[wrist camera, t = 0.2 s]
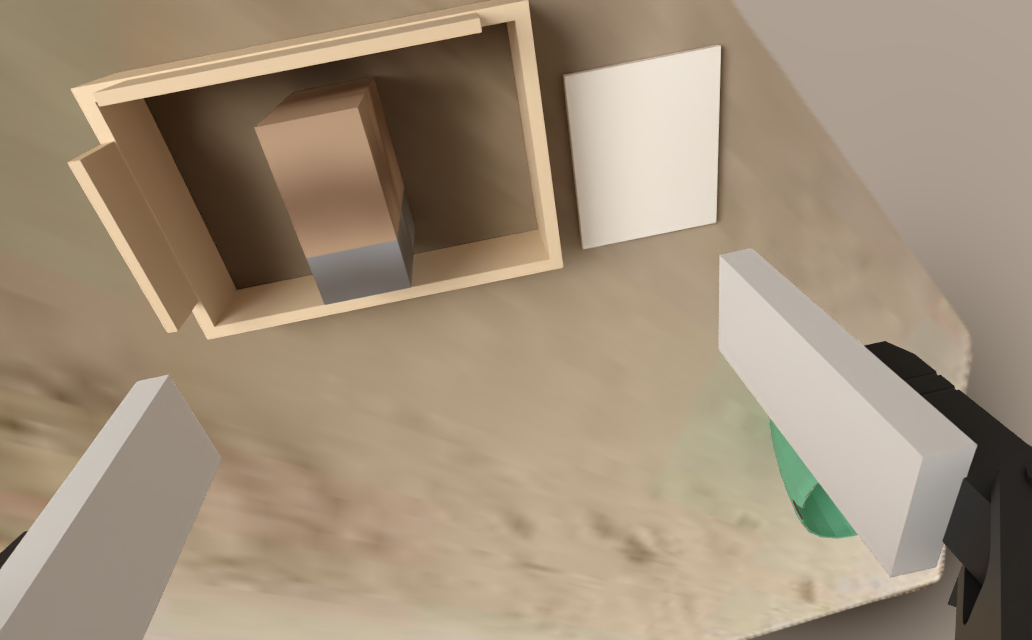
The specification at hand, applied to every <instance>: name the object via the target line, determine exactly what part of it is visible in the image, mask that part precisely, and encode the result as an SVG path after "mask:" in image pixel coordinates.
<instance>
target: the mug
mask: <svg viewBox="0 0 1032 640" xmlns="http://www.w3.org/2000/svg"><path fill="white" fill-rule="evenodd" d="M770 428H771V434H772V440H773V446H774V450H775V454H776V458H777V462H778V466H779V470H780V473H781V476H782V479H783V482H784V484H785V487H786V490H787V493H788V495H789V498H790V500H791V502H792V505H793V507H794V510H795V513H796V515H797V517H798V518H799V520H800V521H801V523H802V524H803V525H804V527H805V528H806V529H807V530H808V531H809V532H810V533H812V534H815V535H817V536H820V537H825V538H844V537H851V536H856V535H858V534H857V533H856V532H855V530H854V529H853V528H852V526H851V525H850V524H849V522H848V521H847V520H846V518H845V517H844V516H843V514H842V513H841V512H840V510H839V509H838V508H837V506H836V505H835V504H834V502H833V501H832V500H831V498H830V497H829V496H828V494H827V493H826V492H825V490H824V489H823V488H822V486H821V485H820V484H819V482H818V481H817V480H816V478H815V477H814V476H813V474H812V473H811V472H810V470H809V469H808V468H807V466H806V465H805V464H804V462H803V461H802V460H801V458H800V457H799V456H798V454H797V453H796V452H795V450H794V449H793V448H792V446H791V445H790V444H789V442H788V441H787V440H786V438H785V437H784V436H783V434H782V433H781V432H780V430H779V429H778V428H777V426H776V425H775V424H774V422H773V421H772V420H770Z"/></svg>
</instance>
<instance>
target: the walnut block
mask: <svg viewBox="0 0 1032 640" xmlns="http://www.w3.org/2000/svg"><path fill="white" fill-rule="evenodd" d="M254 129H255V131H256V134H257V136H258V139H259V141H260V144H261V146H262V149H263V151H264V154H265V156H266V159H267V161H268V164H269V166H270V169H271V171H272V174H273V176H274V179H275V181H276V184H277V186H278V189H279V191H280V194H281V196H282V199H283V201H284V204H285V206H286V209H287V211H288V214H289V217H290V219H291V222H292V224H293V227H294V229H295V232H296V234H297V237H298V239H299V242H300V244H301V247H302V249H303V252H304V254H305V257H306V259H307V262H308V264H309V267H310V269H311V272H312V274H313V277H314V279H315V282H316V284H317V287H318V289H319V292H320V294H321V297H322V299H323V302H324V304H325V305H328V304H333V303H338V302H343V301H348V300H353V299H357V298H362V297H367V296H372V295H377V294H382V293H387V292H392V291H397V290H402V289H407V288H411V285H412V270H413V255H414V240H415V224H414V220H413V217H412V213H411V209H410V206H409V202H408V198H407V195H406V191H405V188H404V184H403V180H402V177H401V173H400V169H399V166H398V162H397V159H396V155H395V151H394V148H393V144H392V140H391V137H390V133H389V130H388V126H387V122H386V119H385V115H384V111H383V108H382V104H381V101H380V97H379V93H378V90H377V86H376V82H375V79H374V77H368V78H363V79H358V80H353V81H348V82H343V83H338V84H333V85H328V86H322V87H317V88H312V89H307V90H302V91H297V92H293V93H292V94H290V95H289V96H288V97H287V98H286V99H285V100H284V101H283V102H282V103H281V104H279V105H278V106H277V107H276V108H275V109H274V110H273V111H272V112H271V113H270V114H269V115H267V116H266V117H265V118H264V119H263V120H262V121H261V122H260V123H259V124H258V125H257V126H255V127H254Z"/></svg>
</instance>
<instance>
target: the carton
mask: <svg viewBox="0 0 1032 640" xmlns="http://www.w3.org/2000/svg"><path fill="white" fill-rule="evenodd" d="M504 22H507V29H508V35H509V42H510V48H511V55H512V61H513V68H514V75H515V81H516V88H517V94H518V101H519V107H520V114H521V121H522V127H523V134H524V140H525V147H526V153H527V160H528V166H529V173H530V180H531V186H532V193H533V199H534V206H535V212H536V219H537V225H538V229H537V230H532V231H527V232H522V233H517V234H512V235H507V236H502V237H497V238H492V239H487V240H482V241H477V242H473V243H468V244H463V245H458V246H453V247H448V248H443V249H438V250H433V251H428V252H423V253H418V254H414V255H413V270H412V285H411V288H407V289H402V290H397V291H392V292H387V293H382V294H377V295H372V296H367V297H362V298H357V299H353V300H348V301H343V302H338V303H333V304H328V305H325V304H324V302H323V299H322V297H321V294H320V292H319V289H318V287H317V284H316V282H315V279H314V277H313V275H308V276H303V277H299V278H294V279H289V280H284V281H279V282H274V283H269V284H264V285H259V286H254V287H249V288H244V289H239V290H237V289H236V287H235V285H234V283H233V281H232V279H231V277H230V275H229V273H228V271H227V269H226V267H225V265H224V262H223V260H222V258H221V256H220V254H219V252H218V250H217V248H216V246H215V244H214V242H213V240H212V238H211V236H210V234H209V232H208V230H207V228H206V225H205V223H204V221H203V219H202V217H201V215H200V213H199V211H198V209H197V207H196V205H195V203H194V201H193V199H192V197H191V195H190V193H189V190H188V188H187V186H186V184H185V182H184V180H183V178H182V176H181V174H180V172H179V170H178V168H177V166H176V164H175V162H174V160H173V158H172V156H171V153H170V151H169V149H168V147H167V145H166V143H165V141H164V139H163V137H162V135H161V133H160V131H159V129H158V127H157V125H156V123H155V121H154V118H153V116H152V114H151V112H150V110H149V108H148V106H147V104H146V102H145V100H144V98H147V97H152V96H157V95H162V94H167V93H172V92H178V91H183V90H188V89H193V88H198V87H203V86H208V85H213V84H219V83H224V82H229V81H234V80H239V79H244V78H249V77H255V76H260V75H265V74H270V73H275V72H280V71H285V70H291V69H296V68H301V67H306V66H311V65H316V64H321V63H326V62H332V61H337V60H342V59H347V58H352V57H357V56H362V55H368V54H373V53H378V52H383V51H388V50H393V49H398V48H404V47H409V46H414V45H419V44H424V43H429V42H434V41H439V40H445V39H450V38H455V37H460V36H465V35H470V34H475V33H481V32H482V29H481V27H483V26H488V25H494V24H499V23H504ZM71 90H72V92H73V94H74V96H75V98H76V100H77V101H78V103H79V105H80V107H81V109H82V111H83V112H84V114H85V116H86V118H87V120H88V122H89V123H90V125H91V127H92V129H93V131H94V133H95V134H96V136H97V138H98V140H99V142H100V144H101V145H99V146H97V147H95V148H93V149H91V150H89V151H88V152H86V153H84V154H82V155H80V156H78V157H77V158H75V159H73V160H71V161H69V162H67V163H68V165H69V166H70V168H71V170H72V171H73V173H74V175H75V177H76V178H77V180H78V182H79V183H80V185H81V187H82V188H83V190H84V192H85V194H86V195H87V197H88V199H89V200H90V202H91V204H92V205H93V207H94V209H95V211H96V212H97V214H98V216H99V217H100V219H101V221H102V222H103V224H104V226H105V228H106V229H107V231H108V233H109V234H110V236H111V238H112V239H113V241H114V243H115V245H116V246H117V248H118V250H119V251H120V253H121V255H122V256H123V258H124V260H125V262H126V263H127V265H128V267H129V268H130V270H131V272H132V273H133V275H134V277H135V279H136V280H137V282H138V284H139V285H140V287H141V289H142V290H143V292H144V294H145V296H146V297H147V299H148V301H149V302H150V304H151V306H152V307H153V309H154V311H155V313H156V314H157V316H158V318H159V319H160V321H161V323H162V324H163V326H164V328H165V330H166V331H167V333H170V332H175V331H178V330H179V329H180V327H181V326H182V324H183V323H184V322H185V320H186V319H187V317H188V316H189V314H190V313H191V311H192V312H193V314H194V315H195V317H196V319H197V321H198V323H199V325H200V326H201V328H202V330H203V332H204V334H205V336H206V337H207V339H213V338H218V337H223V336H228V335H233V334H238V333H243V332H248V331H253V330H258V329H263V328H268V327H272V326H277V325H282V324H287V323H292V322H297V321H302V320H307V319H312V318H317V317H322V316H327V315H332V314H337V313H342V312H347V311H351V310H356V309H361V308H366V307H371V306H376V305H381V304H386V303H391V302H396V301H401V300H406V299H411V298H416V297H421V296H426V295H431V294H435V293H440V292H445V291H450V290H455V289H460V288H465V287H470V286H475V285H480V284H485V283H490V282H495V281H500V280H505V279H510V278H514V277H519V276H524V275H529V274H534V273H539V272H544V271H549V270H554V269H559V268H563V261H562V253H561V246H560V238H559V230H558V223H557V215H556V208H555V200H554V192H553V185H552V177H551V170H550V162H549V155H548V147H547V139H546V132H545V124H544V117H543V109H542V102H541V94H540V86H539V79H538V71H537V64H536V56H535V48H534V41H533V33H532V26H531V18H530V11H529V3H528V0H491V1H485V2H480V3H475V4H470V5H465V6H460V7H454V8H449V9H444V10H439V11H434V12H429V13H423V14H418V15H413V16H408V17H403V18H398V19H392V20H387V21H382V22H377V23H372V24H367V25H361V26H356V27H351V28H346V29H341V30H336V31H331V32H325V33H320V34H315V35H310V36H305V37H300V38H294V39H289V40H284V41H279V42H274V43H269V44H263V45H258V46H253V47H248V48H243V49H238V50H232V51H227V52H222V53H217V54H212V55H207V56H202V57H196V58H191V59H186V60H181V61H176V62H171V63H165V64H160V65H155V66H150V67H145V68H140V69H134V70H129V71H124V72H119V73H115V74H112V75H109V76H106V77H103V78H100V79H97V80H95V81H92V82H89V83H86V84H83V85H80V86H77V87H74V88H71Z"/></svg>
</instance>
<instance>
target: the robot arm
mask: <svg viewBox="0 0 1032 640" xmlns="http://www.w3.org/2000/svg"><path fill="white" fill-rule="evenodd" d="M719 351H720V352H721V353H722V355H723V356H724V357H725V359H726V360H727V361H728V363H729V364H730V365H731V367H732V368H733V369H734V371H735V372H736V373H737V375H738V376H739V377H740V379H741V380H742V381H743V383H744V384H745V385H746V387H747V388H748V389H749V391H750V392H751V393H752V395H753V396H754V397H755V399H756V400H757V401H758V402H759V404H760V405H761V406H762V408H763V409H764V410H765V412H766V413H767V414H768V416H769V417H770V418H771V420H772V421H773V422H774V424H775V425H776V426H777V428H778V429H779V430H780V432H781V433H782V434H783V436H784V437H785V438H786V440H787V441H788V442H789V444H790V445H791V446H792V448H793V449H794V450H795V452H796V453H797V454H798V456H799V457H800V458H801V460H802V461H803V462H804V464H805V465H806V466H807V468H808V469H809V470H810V472H811V473H812V474H813V476H814V477H815V478H816V480H817V481H818V482H819V484H820V485H821V486H822V488H823V489H824V490H825V492H826V493H827V494H828V496H829V497H830V498H831V500H832V501H833V502H834V504H835V505H836V506H837V508H838V509H839V510H840V512H841V513H842V514H843V516H844V517H845V518H846V520H847V521H848V522H849V524H850V525H851V526H852V528H853V529H854V530H855V532H856V533H857V534H858V536H859V537H860V538H861V540H862V541H863V542H864V544H865V545H866V546H867V548H868V549H869V550H870V552H871V553H872V554H873V555H874V557H875V558H876V559H877V561H878V562H879V563H880V565H881V566H882V567H883V569H884V570H885V571H886V573H887V574H888V575H889V577H895V576H899V575H903V574H908V573H912V572H917V571H921V570H926V569H930V568H935V567H936V566H937V563H938V560H939V557H940V554H941V551H942V548H943V545H944V544H945V545H946V546H947V547H948V548H949V549H950V550H951V552H952V553H953V554H954V555H955V556H956V557H957V558H958V559H959V561H960V562H961V563H962V567H961V570H960V572H959V575H958V578H957V581H956V583H955V586H954V588H953V591H952V594H951V596H950V599H949V602H948V604H949V605H951V606H954V607H956V606H957V610H956V612H957V613H956V632H955V640H1032V447H1031V446H1029V445H1028V444H1027V443H1025V442H1024V441H1022V439H1020V438H1019V437H1017V435H1015V434H1014V433H1013V432H1011V431H1010V430H1009V429H1008V428H1006V427H1005V426H1004V425H1003V424H1001V423H1000V422H999V421H998V420H996V419H995V418H994V417H992V416H991V415H990V414H989V413H988V412H986V411H985V410H984V409H983V408H981V407H980V406H979V405H977V404H976V403H975V402H974V401H973V400H971V399H970V398H969V397H968V396H966V395H965V394H964V393H963V392H961V391H960V390H955V388H954V385H953V384H951V383H950V382H949V381H948V380H946V379H945V378H944V377H943V376H941V375H937V374H936V371H935V370H934V369H932V368H931V367H930V366H929V365H927V364H926V363H925V362H924V361H922V360H921V359H920V358H919V357H917V356H916V355H915V354H913V353H911V352H909V351H906V350H904V349H902V348H899V347H897V346H895V345H893V344H890V343H888V342H886V341H883V342H879V343H874V344H870V345H865V346H863V345H862V344H861V343H860V342H859V341H858V340H857V339H855V338H854V337H853V336H852V335H851V334H850V333H849V332H847V331H846V330H845V329H844V328H843V327H842V326H840V325H839V324H838V323H837V322H836V321H835V320H834V319H832V318H831V317H830V316H829V315H828V314H827V313H826V312H824V311H823V310H822V309H821V308H820V307H819V306H818V305H816V304H815V303H814V302H813V301H812V300H811V299H810V298H808V297H807V296H806V295H805V294H804V293H803V292H801V291H800V290H799V289H798V288H797V287H796V286H795V285H793V284H792V283H791V282H790V281H789V280H788V279H787V278H785V277H784V276H783V275H782V274H781V273H780V272H779V271H777V270H776V269H775V268H774V267H773V266H772V265H771V264H769V263H768V262H767V261H766V260H765V259H764V258H763V257H761V256H760V255H759V254H758V253H757V252H756V251H754V250H753V249H752V248H749V249H744V250H739V251H735V252H730V253H726V254H721V255H720V268H719ZM221 459H222V458H221V456H220V455H219V453H218V452H217V450H216V448H215V447H214V445H213V444H212V442H211V440H210V439H209V437H208V436H207V434H206V432H205V431H204V429H203V428H202V426H201V424H200V423H199V421H198V420H197V418H196V416H195V415H194V413H193V412H192V410H191V409H190V407H189V405H188V404H187V402H186V401H185V399H184V397H183V396H182V394H181V393H180V391H179V389H178V388H177V386H176V385H175V383H174V381H173V380H172V378H171V377H170V375H165V376H160V377H155V378H151V379H146V380H142V381H137V382H136V383H135V385H134V386H133V387H132V389H131V390H130V391H129V393H128V394H127V396H126V397H125V398H124V400H123V401H122V403H121V404H120V405H119V407H118V408H117V409H116V411H115V412H114V414H113V415H112V416H111V418H110V419H109V420H108V422H107V423H106V425H105V426H104V427H103V429H102V430H101V431H100V433H99V434H98V436H97V437H96V438H95V440H94V441H93V442H92V444H91V445H90V447H89V448H88V449H87V451H86V452H85V453H84V455H83V456H82V458H81V459H80V460H79V462H78V463H77V464H76V466H75V467H74V469H73V470H72V471H71V473H70V474H69V475H68V477H67V478H66V480H65V481H64V482H63V484H62V485H61V486H60V488H59V489H58V491H57V492H56V493H55V495H54V496H53V497H52V499H51V500H50V502H49V503H48V504H47V506H46V507H45V508H44V510H43V511H42V513H41V514H40V515H39V517H38V518H37V520H36V521H35V522H34V524H33V525H32V526H31V528H30V529H29V531H25V532H23V533H22V534H21V535H20V536H19V537H18V538H17V539H16V540H14V541H13V542H12V543H11V544H10V545H9V546H8V547H7V548H6V549H5V550H4V551H2V552H1V553H0V640H143V638H144V635H145V633H146V631H147V628H148V626H149V624H150V622H151V619H152V617H153V615H154V612H155V610H156V608H157V606H158V603H159V601H160V599H161V596H162V594H163V592H164V590H165V587H166V585H167V583H168V580H169V578H170V576H171V574H172V571H173V569H174V567H175V564H176V562H177V560H178V558H179V555H180V553H181V551H182V548H183V546H184V544H185V542H186V539H187V537H188V535H189V532H190V530H191V528H192V525H193V523H194V521H195V519H196V516H197V514H198V512H199V509H200V507H201V505H202V503H203V500H204V498H205V496H206V493H207V491H208V489H209V487H210V484H211V482H212V480H213V477H214V475H215V473H216V471H217V468H218V466H219V464H220V461H221Z"/></svg>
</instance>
